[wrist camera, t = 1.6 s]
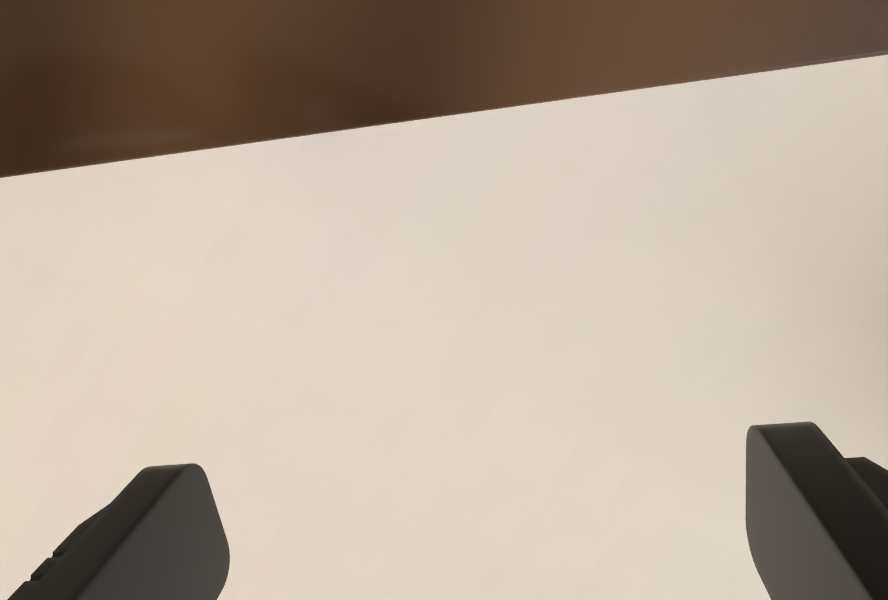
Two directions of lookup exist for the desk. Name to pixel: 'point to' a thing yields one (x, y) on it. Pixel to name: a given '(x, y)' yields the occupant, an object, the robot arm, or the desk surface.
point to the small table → (365, 63)
